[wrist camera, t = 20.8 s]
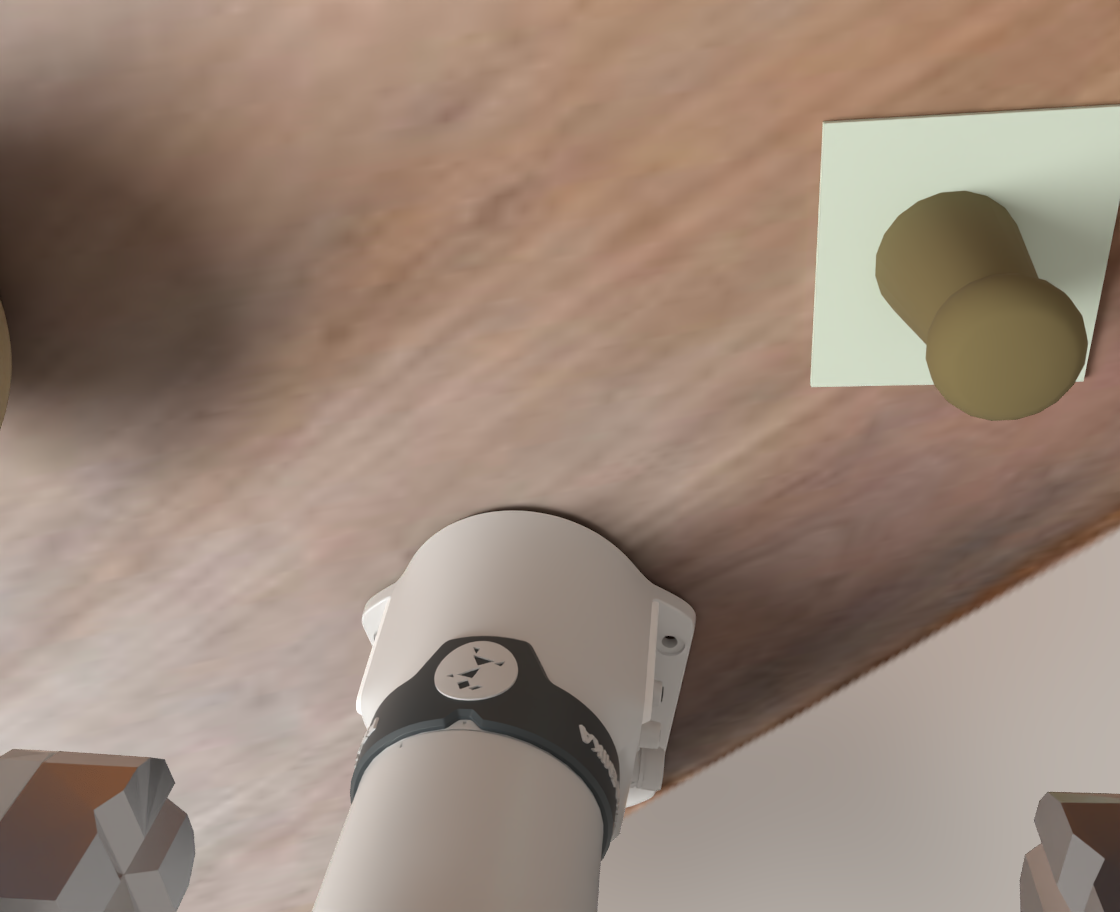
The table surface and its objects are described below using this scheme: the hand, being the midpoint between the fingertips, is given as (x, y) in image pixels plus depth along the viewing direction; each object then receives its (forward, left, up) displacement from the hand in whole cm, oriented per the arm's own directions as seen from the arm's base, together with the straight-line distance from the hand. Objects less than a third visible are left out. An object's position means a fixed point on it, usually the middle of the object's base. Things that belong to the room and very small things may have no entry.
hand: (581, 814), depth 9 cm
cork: (-8, -12, -37) cm, 39 cm away
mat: (-8, -12, -37) cm, 40 cm away
